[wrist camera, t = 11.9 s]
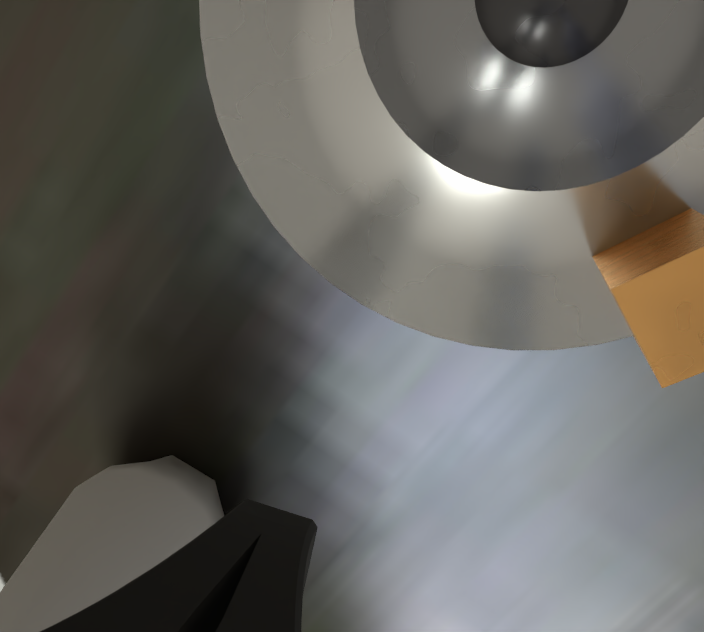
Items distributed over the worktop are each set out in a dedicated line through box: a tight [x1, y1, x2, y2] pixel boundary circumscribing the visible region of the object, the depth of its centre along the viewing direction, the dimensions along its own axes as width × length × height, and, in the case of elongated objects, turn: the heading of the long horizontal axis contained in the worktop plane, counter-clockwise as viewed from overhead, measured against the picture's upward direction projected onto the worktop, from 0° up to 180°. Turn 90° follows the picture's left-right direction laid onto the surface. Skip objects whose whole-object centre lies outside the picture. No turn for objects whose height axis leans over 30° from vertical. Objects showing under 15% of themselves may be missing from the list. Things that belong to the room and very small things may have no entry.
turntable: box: [199, 0, 704, 388], centre depth 14 cm, size 16×16×4 cm
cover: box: [354, 0, 704, 191], centre depth 13 cm, size 7×7×4 cm
